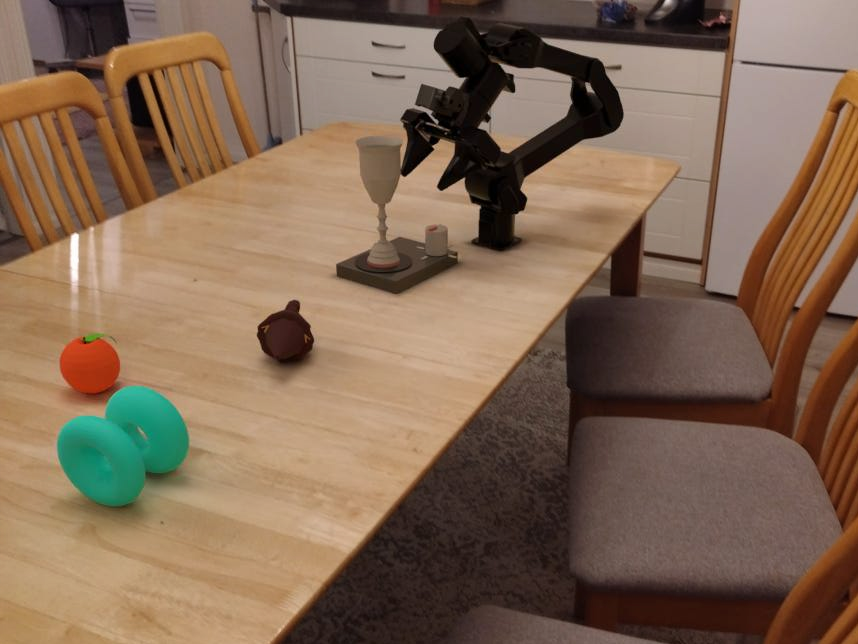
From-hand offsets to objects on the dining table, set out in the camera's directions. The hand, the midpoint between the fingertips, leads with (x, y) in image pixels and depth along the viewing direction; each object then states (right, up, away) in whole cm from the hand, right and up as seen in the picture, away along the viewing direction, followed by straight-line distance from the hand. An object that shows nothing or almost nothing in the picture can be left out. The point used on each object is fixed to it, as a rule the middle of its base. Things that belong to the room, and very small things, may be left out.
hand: (420, 182), depth 155 cm
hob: (-4, -13, +5) cm, 14 cm away
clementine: (-38, -35, -30) cm, 60 cm away
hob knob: (+2, -10, +6) cm, 11 cm away
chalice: (-6, -11, +3) cm, 13 cm away
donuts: (-28, -47, -49) cm, 73 cm away
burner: (-6, -12, +2) cm, 14 cm away
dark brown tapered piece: (-16, -30, -23) cm, 41 cm away
